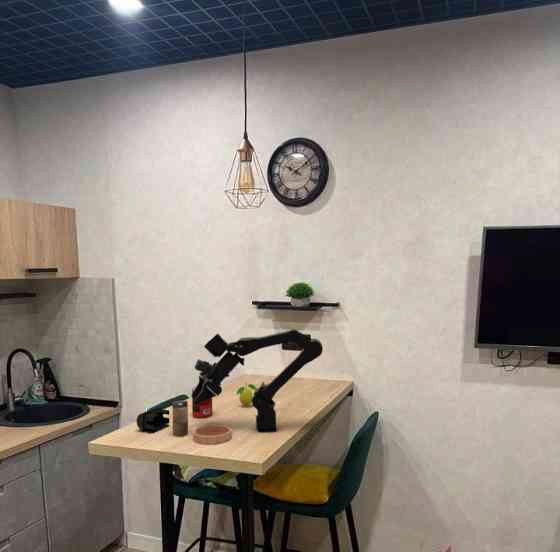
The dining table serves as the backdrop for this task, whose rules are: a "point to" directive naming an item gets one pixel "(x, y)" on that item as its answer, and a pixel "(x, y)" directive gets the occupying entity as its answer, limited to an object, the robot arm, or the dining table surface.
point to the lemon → (246, 394)
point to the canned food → (201, 407)
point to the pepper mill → (180, 418)
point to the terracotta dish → (212, 434)
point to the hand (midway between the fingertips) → (193, 400)
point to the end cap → (153, 420)
